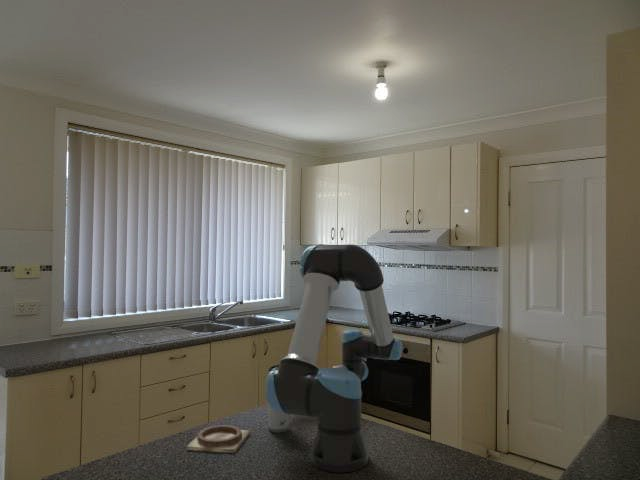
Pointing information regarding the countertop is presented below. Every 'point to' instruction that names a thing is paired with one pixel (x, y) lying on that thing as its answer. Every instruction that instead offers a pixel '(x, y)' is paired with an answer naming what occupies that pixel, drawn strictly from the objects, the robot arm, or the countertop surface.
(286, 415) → the travel mug
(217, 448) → the mug stand
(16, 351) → the countertop surface
